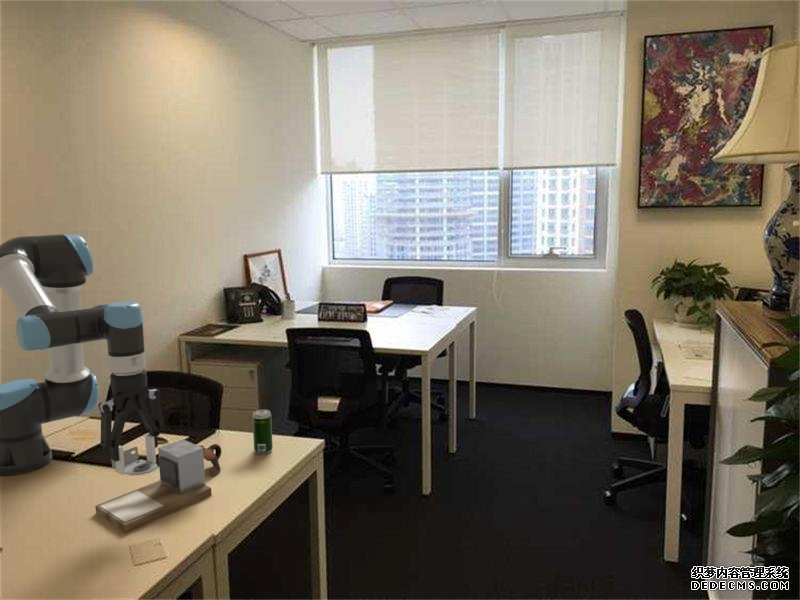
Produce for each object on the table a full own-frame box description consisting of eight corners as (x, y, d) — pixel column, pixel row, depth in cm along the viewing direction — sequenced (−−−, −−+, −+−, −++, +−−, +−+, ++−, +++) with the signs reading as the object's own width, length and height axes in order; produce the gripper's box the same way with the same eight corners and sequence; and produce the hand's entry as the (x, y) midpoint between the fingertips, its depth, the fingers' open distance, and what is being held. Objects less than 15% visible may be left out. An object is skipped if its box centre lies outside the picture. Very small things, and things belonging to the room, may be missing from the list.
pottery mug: (208, 484, 164) (191, 459, 162) (187, 491, 169) (170, 467, 167) (236, 456, 174) (219, 432, 172) (215, 463, 179) (198, 440, 177)
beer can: (272, 453, 181) (271, 414, 179) (254, 455, 180) (252, 416, 178) (272, 446, 186) (271, 408, 184) (254, 448, 185) (252, 410, 183)
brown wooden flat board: (96, 513, 148) (95, 505, 147) (180, 479, 165) (179, 471, 165) (125, 533, 139) (125, 524, 139) (211, 495, 157) (211, 487, 156)
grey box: (158, 485, 157) (155, 448, 156) (185, 474, 163) (182, 439, 162) (178, 496, 152) (175, 458, 150) (205, 484, 158) (203, 447, 156)
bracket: (138, 480, 137) (136, 465, 137) (112, 469, 143) (110, 455, 142) (163, 469, 142) (162, 455, 142) (137, 459, 148) (136, 446, 147)
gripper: (91, 385, 129) (101, 487, 133) (177, 364, 144) (183, 457, 148) (75, 378, 133) (85, 478, 137) (159, 359, 149) (166, 449, 153)
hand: (136, 467), depth 143 cm, fingers closed on bracket, 7 cm apart
